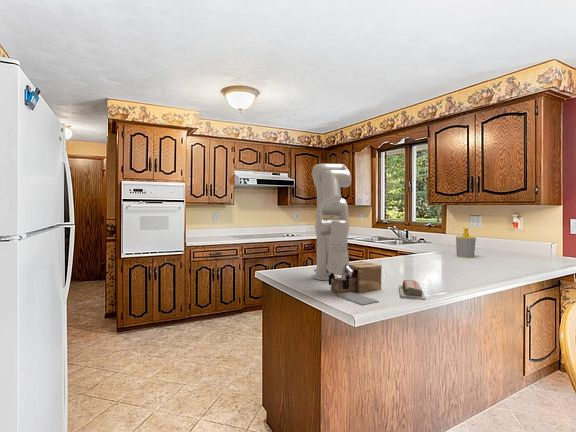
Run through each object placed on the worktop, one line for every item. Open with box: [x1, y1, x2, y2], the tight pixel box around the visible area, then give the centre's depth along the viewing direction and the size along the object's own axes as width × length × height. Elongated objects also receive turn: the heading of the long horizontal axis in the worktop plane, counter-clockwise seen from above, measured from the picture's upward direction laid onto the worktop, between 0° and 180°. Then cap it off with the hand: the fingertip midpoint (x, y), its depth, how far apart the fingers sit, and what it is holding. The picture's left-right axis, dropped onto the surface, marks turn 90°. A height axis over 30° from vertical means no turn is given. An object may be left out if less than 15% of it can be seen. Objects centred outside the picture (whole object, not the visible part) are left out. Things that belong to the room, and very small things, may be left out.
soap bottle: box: [455, 227, 477, 259], centre depth 256 cm, size 13×13×21 cm
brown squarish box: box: [345, 260, 383, 294], centre depth 161 cm, size 12×13×11 cm
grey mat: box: [335, 292, 380, 306], centre depth 144 cm, size 16×9×1 cm, turn 31°
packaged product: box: [398, 279, 426, 301], centre depth 153 cm, size 18×5×10 cm
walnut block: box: [330, 275, 358, 295], centre depth 157 cm, size 5×14×6 cm, turn 121°
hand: (338, 286), depth 154 cm, fingers open, 9 cm apart
